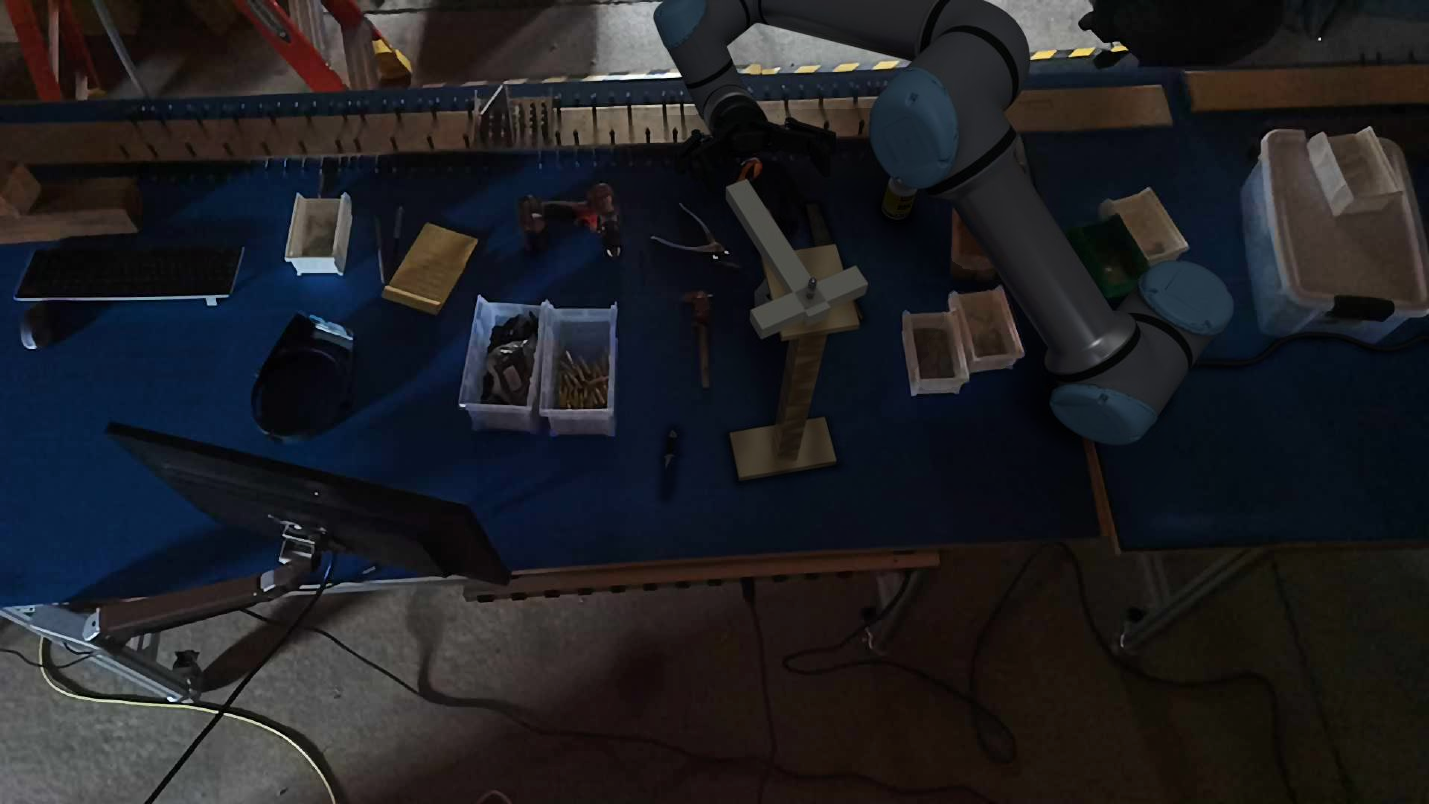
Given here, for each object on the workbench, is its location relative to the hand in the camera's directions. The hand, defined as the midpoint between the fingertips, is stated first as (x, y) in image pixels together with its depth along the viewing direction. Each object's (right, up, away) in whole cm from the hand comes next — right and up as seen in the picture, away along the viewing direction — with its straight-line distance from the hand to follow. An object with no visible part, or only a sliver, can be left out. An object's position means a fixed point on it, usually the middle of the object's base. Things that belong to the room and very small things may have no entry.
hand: (769, 174), depth 99 cm
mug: (+5, -14, +34) cm, 37 cm away
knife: (-13, -35, +24) cm, 44 cm away
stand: (+3, -32, +25) cm, 41 cm away
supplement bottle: (+24, +6, +44) cm, 50 cm away
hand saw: (+13, -4, +39) cm, 41 cm away
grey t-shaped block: (0, -11, -9) cm, 15 cm away
